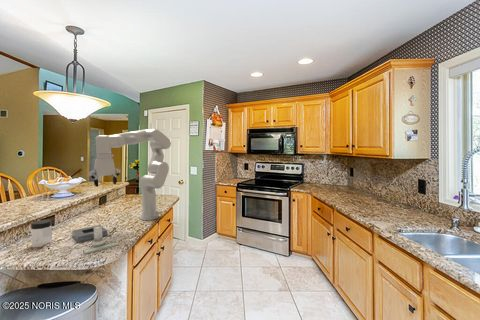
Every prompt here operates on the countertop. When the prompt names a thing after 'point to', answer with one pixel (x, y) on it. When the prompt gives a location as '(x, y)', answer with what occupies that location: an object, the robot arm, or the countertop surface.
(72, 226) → the countertop surface
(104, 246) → the mat
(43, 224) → the jar
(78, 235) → the housing
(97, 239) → the grey rounded knob
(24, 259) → the countertop surface
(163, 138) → the robot arm
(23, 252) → the countertop surface
